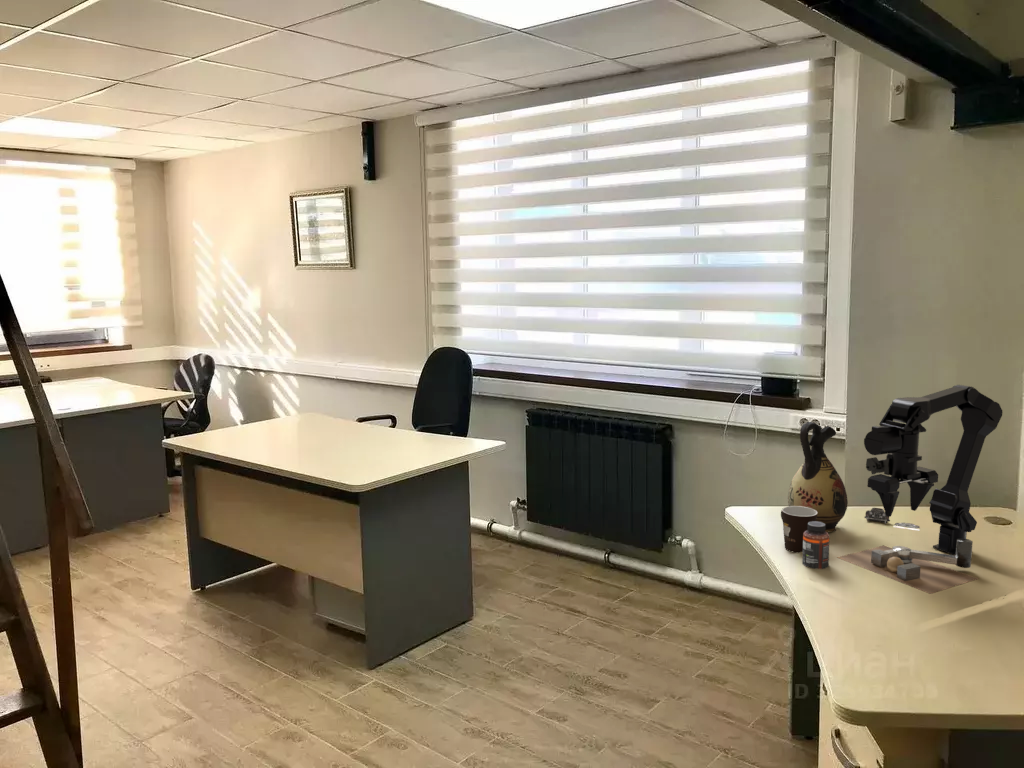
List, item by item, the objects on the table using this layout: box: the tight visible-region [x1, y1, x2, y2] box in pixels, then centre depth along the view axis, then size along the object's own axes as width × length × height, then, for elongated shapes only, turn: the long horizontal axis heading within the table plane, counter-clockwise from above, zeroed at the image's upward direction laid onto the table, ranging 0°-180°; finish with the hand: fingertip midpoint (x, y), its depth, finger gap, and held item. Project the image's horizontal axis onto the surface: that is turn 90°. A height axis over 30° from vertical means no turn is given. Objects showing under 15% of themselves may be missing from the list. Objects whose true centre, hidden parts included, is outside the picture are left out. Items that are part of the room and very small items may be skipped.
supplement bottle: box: [801, 521, 830, 570], centre depth 193 cm, size 6×6×11 cm
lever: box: [871, 538, 973, 569], centre depth 190 cm, size 21×9×7 cm, turn 62°
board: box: [836, 545, 979, 595], centre depth 191 cm, size 17×25×1 cm
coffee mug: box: [780, 505, 818, 553], centre depth 208 cm, size 12×9×10 cm
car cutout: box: [863, 507, 921, 532], centre depth 226 cm, size 15×7×4 cm, turn 60°
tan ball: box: [887, 557, 904, 573], centre depth 188 cm, size 4×4×4 cm
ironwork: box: [897, 558, 921, 581], centre depth 190 cm, size 15×5×3 cm, turn 163°
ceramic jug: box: [787, 421, 848, 534], centre depth 221 cm, size 17×15×30 cm
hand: (901, 513), depth 197 cm, fingers open, 9 cm apart
